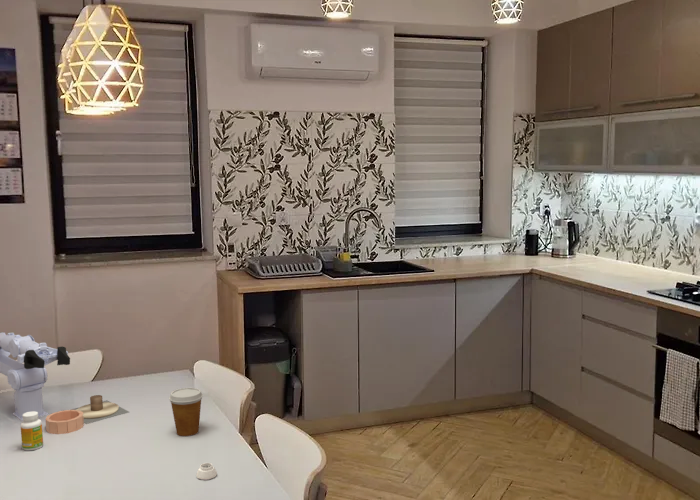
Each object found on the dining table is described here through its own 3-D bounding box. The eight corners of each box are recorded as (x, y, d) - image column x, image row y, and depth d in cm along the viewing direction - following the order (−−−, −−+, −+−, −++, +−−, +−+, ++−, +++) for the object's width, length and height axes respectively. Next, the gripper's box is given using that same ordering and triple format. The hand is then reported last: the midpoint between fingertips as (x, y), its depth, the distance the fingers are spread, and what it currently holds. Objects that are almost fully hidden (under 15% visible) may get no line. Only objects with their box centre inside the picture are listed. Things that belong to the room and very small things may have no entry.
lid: (68, 411, 225) (67, 397, 225) (107, 401, 234) (106, 387, 234) (85, 422, 216) (84, 407, 215) (126, 411, 225) (125, 396, 224)
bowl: (41, 429, 212) (40, 416, 212) (75, 419, 219) (74, 407, 219) (55, 438, 205) (54, 424, 205) (89, 428, 212) (88, 415, 212)
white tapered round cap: (196, 482, 176) (217, 479, 177) (196, 470, 176) (216, 468, 177) (196, 473, 181) (216, 471, 182) (196, 462, 180) (216, 460, 181)
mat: (64, 412, 226) (64, 411, 226) (107, 401, 236) (107, 400, 236) (86, 425, 215) (86, 423, 215) (129, 413, 224) (129, 411, 224)
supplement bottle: (35, 451, 196) (32, 417, 195) (18, 450, 197) (15, 416, 196) (47, 444, 201) (44, 410, 200) (30, 442, 202) (27, 409, 201)
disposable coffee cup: (211, 431, 208) (209, 391, 207) (183, 441, 201) (181, 400, 200) (192, 423, 215) (190, 385, 213) (164, 432, 208) (162, 393, 206)
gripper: (11, 341, 211) (32, 352, 202) (59, 337, 222) (80, 346, 213) (10, 365, 212) (30, 376, 203) (57, 359, 223) (79, 370, 214)
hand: (56, 362), depth 208 cm, fingers open, 7 cm apart
